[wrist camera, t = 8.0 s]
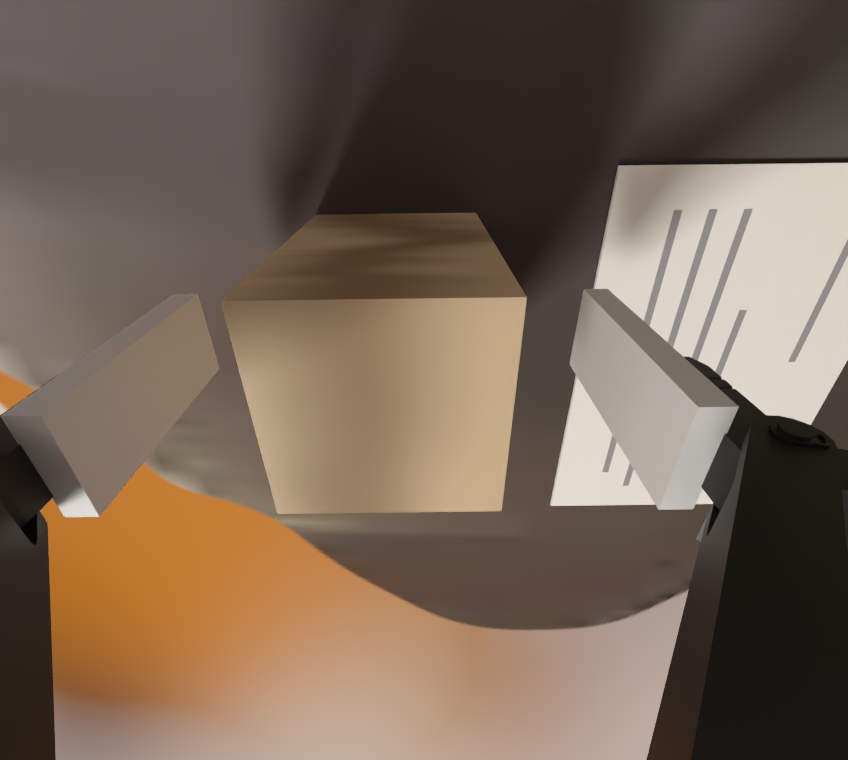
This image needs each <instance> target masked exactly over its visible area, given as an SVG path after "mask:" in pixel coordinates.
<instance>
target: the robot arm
mask: <svg viewBox="0 0 848 760" xmlns="http://www.w3.org/2000/svg"><path fill="white" fill-rule="evenodd" d="M570 366H571V367H572V369H573V371H574V372H575V374H576V376H577V377H578V379H579V381H580V382H581V384H582V385H583V387H584V389H585V390H586V392H587V394H588V395H589V397H590V398H591V400H592V402H593V403H594V405H595V407H596V408H597V410H598V412H599V413H600V415H601V416H602V418H603V420H604V421H605V423H606V425H607V426H608V428H609V430H610V431H611V433H612V434H613V436H614V438H615V439H616V441H617V443H618V444H619V446H620V447H621V449H622V451H623V452H624V454H625V456H626V457H627V459H628V461H629V462H630V464H631V465H632V467H633V469H634V470H635V472H636V474H637V475H638V477H639V479H640V480H641V482H642V483H643V485H644V487H645V488H646V490H647V492H648V493H649V495H650V496H651V498H652V500H653V501H654V503H655V505H656V506H657V508H658V510H673V509H693V508H694V506H695V504H696V502H697V499H698V497H699V495H700V493H701V491H702V489H703V490H704V491H705V493H706V494H707V495H708V496H709V498H710V499H711V500H712V502H713V505H712V507H711V509H710V511H709V513H708V515H707V517H706V519H705V521H704V523H703V526H702V528H701V530H700V532H699V534H698V536H697V538H696V539H697V540H699V541H701V543H700V547H699V551H698V555H697V559H696V563H695V567H694V571H693V575H692V579H691V583H690V587H689V591H688V596H687V600H686V604H685V607H684V611H683V616H682V620H681V624H680V628H679V632H678V636H677V640H676V644H675V648H674V652H673V656H672V660H671V664H670V668H669V672H668V676H667V680H666V684H665V688H664V692H663V696H662V700H661V704H660V708H659V713H658V716H657V720H656V724H655V728H654V732H653V736H652V740H651V744H650V748H649V753H648V756H647V760H848V450H843V449H838V448H837V446H836V444H835V442H834V441H833V440H832V439H831V438H830V437H829V436H827V435H826V434H825V433H824V432H822V431H820V430H818V429H817V428H815V427H813V426H811V425H809V424H806V423H804V422H801V421H798V420H795V419H792V418H787V417H782V416H770V415H765V414H764V413H763V412H762V411H761V410H759V409H758V408H757V407H756V406H755V405H754V404H752V403H751V402H750V401H749V400H748V399H747V398H745V397H744V396H743V395H742V394H741V393H740V392H738V391H737V390H736V389H732V386H731V385H730V384H729V383H728V382H727V381H725V380H722V379H721V378H722V377H721V376H720V375H718V374H717V373H716V372H715V371H714V370H713V369H711V368H710V367H709V366H707V365H705V364H703V363H701V362H699V361H697V360H695V359H693V358H691V357H683V356H682V355H681V354H680V353H679V352H677V351H676V350H675V349H674V348H673V347H672V346H671V345H670V344H669V343H667V342H666V341H665V340H664V339H663V338H662V337H661V336H660V335H659V334H657V333H656V332H655V331H654V330H653V329H652V328H651V327H650V326H649V325H647V324H646V323H645V322H644V321H643V320H642V319H641V318H640V317H638V316H637V315H636V314H635V313H634V312H633V311H632V310H631V309H630V308H628V307H627V306H626V305H625V304H624V303H623V302H622V301H621V300H620V299H618V298H617V297H616V296H615V295H614V294H613V293H612V292H611V291H610V290H608V289H584V290H583V296H582V301H581V306H580V312H579V317H578V322H577V328H576V333H575V338H574V343H573V349H572V354H571V359H570ZM218 370H219V365H218V362H217V358H216V355H215V352H214V348H213V345H212V341H211V338H210V335H209V331H208V328H207V324H206V321H205V318H204V314H203V311H202V308H201V304H200V301H199V297H198V294H173V295H172V296H170V297H169V298H167V299H166V300H164V301H163V302H162V303H160V304H159V305H157V306H156V307H154V308H153V309H152V310H150V311H149V312H147V313H146V314H144V315H143V316H142V317H140V318H139V319H137V320H136V321H135V322H133V323H132V324H130V325H129V326H127V327H126V328H125V329H123V330H122V331H120V332H119V333H117V334H116V335H115V336H113V337H112V338H110V339H109V340H107V341H106V342H105V343H103V344H102V345H100V346H99V347H98V348H96V349H95V350H93V351H92V352H90V353H89V354H88V355H86V356H85V357H83V358H82V359H80V360H79V361H78V362H76V363H75V364H73V365H72V366H70V367H69V368H68V369H66V370H65V371H63V372H62V373H60V374H59V375H57V376H56V377H54V378H53V379H51V380H50V381H49V382H47V383H46V384H44V385H43V386H41V387H40V388H39V389H37V390H36V391H34V392H33V393H32V394H30V395H29V396H27V397H26V398H25V399H23V400H22V401H20V402H19V403H17V404H16V405H14V406H13V407H11V408H10V409H9V410H7V411H6V412H4V413H3V414H1V415H0V760H55V731H54V703H53V673H52V645H51V614H50V585H49V556H48V527H47V522H46V520H45V518H44V517H43V515H42V514H41V512H40V510H41V509H42V508H43V507H44V506H45V504H47V503H48V502H49V501H50V500H51V498H53V499H54V501H55V503H56V504H57V506H58V507H59V509H60V510H61V512H62V514H63V515H64V517H100V515H101V514H102V513H103V512H104V511H105V509H106V508H107V507H108V505H109V504H110V503H111V502H112V500H113V499H114V498H115V497H116V496H117V494H118V493H119V492H120V491H121V490H122V488H123V487H124V486H125V485H126V483H127V482H128V481H129V479H130V478H131V477H132V476H133V475H134V474H135V472H136V471H137V470H138V469H139V467H140V466H141V465H142V464H143V462H144V461H145V460H146V459H147V457H148V456H149V455H150V454H151V453H152V451H153V450H154V449H155V448H156V446H157V445H158V444H159V443H160V441H161V440H162V439H163V438H164V436H165V435H166V434H167V433H168V432H169V430H170V429H171V428H172V427H173V425H174V424H175V423H176V422H177V420H178V419H179V418H180V417H181V416H182V414H183V413H184V412H185V411H186V409H187V408H188V407H189V406H190V404H191V403H192V402H193V401H194V399H195V398H196V397H197V396H198V395H199V393H200V392H201V391H202V390H203V388H204V387H205V386H206V385H207V383H208V382H209V381H210V380H211V378H212V377H213V376H214V375H215V374H216V372H217V371H218Z"/></svg>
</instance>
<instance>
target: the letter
mask: <svg viewBox="0 0 848 760" xmlns="http://www.w3.org/2000/svg"><path fill="white" fill-rule="evenodd" d="M593 289H608V290H610V291H611V292H612V293H613V294H614V295H615V296H616V297H617V298H618V299H620V300H621V301H622V302H623V303H624V304H625V305H626V306H627V307H628V308H630V309H631V310H632V311H633V312H634V313H635V314H636V315H637V316H638V317H640V318H641V319H642V320H643V321H644V322H645V323H646V324H647V325H649V326H650V327H651V328H652V329H653V330H654V331H655V332H656V333H657V334H659V335H660V336H661V337H662V338H663V339H664V340H665V341H666V342H667V343H669V344H670V345H671V346H672V347H673V348H674V349H675V350H676V351H677V352H679V353H680V354H681V355H682V356H683V357H691V358H693V359H695V360H697V361H699V362H701V363H703V364H705V365H707V366H709V367H710V368H711V369H713V370H714V371H715V372H716V373H717V374H718V375H720V376H721V377H722V378H721V379H722V380H725V381H727V382H728V383H729V384H730V385H731V386H732V389H736V390H737V391H738V392H740V393H741V394H742V395H743V396H744V397H745V398H747V399H748V400H749V401H750V402H751V403H752V404H754V405H755V406H756V407H757V408H758V409H759V410H761V411H762V412H763V413H764V414H765V415H770V416H782V417H787V418H792V419H795V420H798V421H801V422H804V423H806V424H809V425H811V424H812V422H813V420H814V418H815V417H816V415H817V413H818V411H819V409H820V408H821V406H822V404H823V402H824V401H825V399H826V397H827V395H828V394H829V392H830V390H831V388H832V387H833V385H834V383H835V381H836V380H837V378H838V376H839V374H840V372H841V371H842V369H843V367H844V365H845V364H846V362H847V360H848V163H771V164H688V165H618V168H617V173H616V178H615V183H614V188H613V193H612V198H611V203H610V208H609V213H608V218H607V223H606V228H605V233H604V238H603V243H602V248H601V253H600V258H599V263H598V268H597V273H596V278H595V283H594V288H593ZM696 504H713V502H712V500H711V499H710V498H709V496H708V495H707V494H706V493H705V491H704V490H703V489H702V491H701V493H700V495H699V497H698V499H697V502H696ZM550 505H551V506H580V505H655V503H654V501H653V500H652V498H651V496H650V495H649V493H648V492H647V490H646V488H645V487H644V485H643V483H642V482H641V480H640V479H639V477H638V475H637V474H636V472H635V470H634V469H633V467H632V465H631V464H630V462H629V461H628V459H627V457H626V456H625V454H624V452H623V451H622V449H621V447H620V446H619V444H618V443H617V441H616V439H615V438H614V436H613V434H612V433H611V431H610V430H609V428H608V426H607V425H606V423H605V421H604V420H603V418H602V416H601V415H600V413H599V412H598V410H597V408H596V407H595V405H594V403H593V402H592V400H591V398H590V397H589V395H588V394H587V392H586V390H585V389H584V387H583V385H582V384H581V382H580V381H579V379H578V377H577V376H576V377H575V382H574V387H573V392H572V397H571V402H570V407H569V412H568V417H567V422H566V427H565V432H564V437H563V442H562V447H561V452H560V457H559V462H558V467H557V472H556V477H555V482H554V487H553V492H552V497H551V502H550Z"/></svg>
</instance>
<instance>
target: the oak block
mask: <svg viewBox="0 0 848 760" xmlns="http://www.w3.org/2000/svg"><path fill="white" fill-rule="evenodd" d="M526 301H527V297H526V295H525V293H524V292H523V290H522V288H521V287H520V285H519V283H518V282H517V280H516V278H515V277H514V275H513V273H512V272H511V270H510V268H509V267H508V265H507V263H506V262H505V260H504V258H503V257H502V255H501V253H500V252H499V250H498V248H497V247H496V245H495V243H494V242H493V240H492V238H491V237H490V235H489V233H488V232H487V230H486V228H485V227H484V225H483V223H482V222H481V220H480V219H479V217H478V215H477V214H476V213H409V214H326V215H315V216H314V217H313V218H312V219H310V220H309V221H308V222H307V223H306V224H305V225H304V226H303V227H302V228H301V229H299V230H298V231H297V232H296V233H295V234H294V235H293V236H292V237H291V238H289V239H288V240H287V241H286V242H285V243H284V244H283V245H282V246H281V247H280V248H278V249H277V250H276V251H275V252H274V253H273V254H272V255H271V256H270V257H268V258H267V259H266V260H265V261H264V262H263V263H262V264H261V265H260V266H258V267H257V268H256V269H255V270H254V271H253V272H252V273H251V274H250V275H249V276H247V277H246V278H245V279H244V280H243V281H242V282H241V283H240V284H239V285H237V286H236V287H235V288H234V289H233V290H232V291H231V292H230V293H229V294H228V295H226V296H225V297H224V298H223V299H222V300H221V301H220V302H221V305H222V309H223V313H224V316H225V320H226V324H227V328H228V331H229V335H230V339H231V343H232V346H233V350H234V354H235V357H236V361H237V365H238V369H239V372H240V376H241V380H242V383H243V387H244V391H245V395H246V398H247V402H248V406H249V409H250V413H251V417H252V421H253V424H254V428H255V432H256V436H257V439H258V443H259V447H260V450H261V454H262V458H263V462H264V465H265V469H266V473H267V476H268V480H269V484H270V488H271V491H272V495H273V499H274V502H275V506H276V510H277V514H308V513H386V512H464V511H501V510H502V502H503V494H504V485H505V477H506V468H507V460H508V452H509V443H510V435H511V427H512V418H513V410H514V401H515V393H516V385H517V376H518V368H519V359H520V351H521V343H522V334H523V326H524V317H525V309H526Z"/></svg>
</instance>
